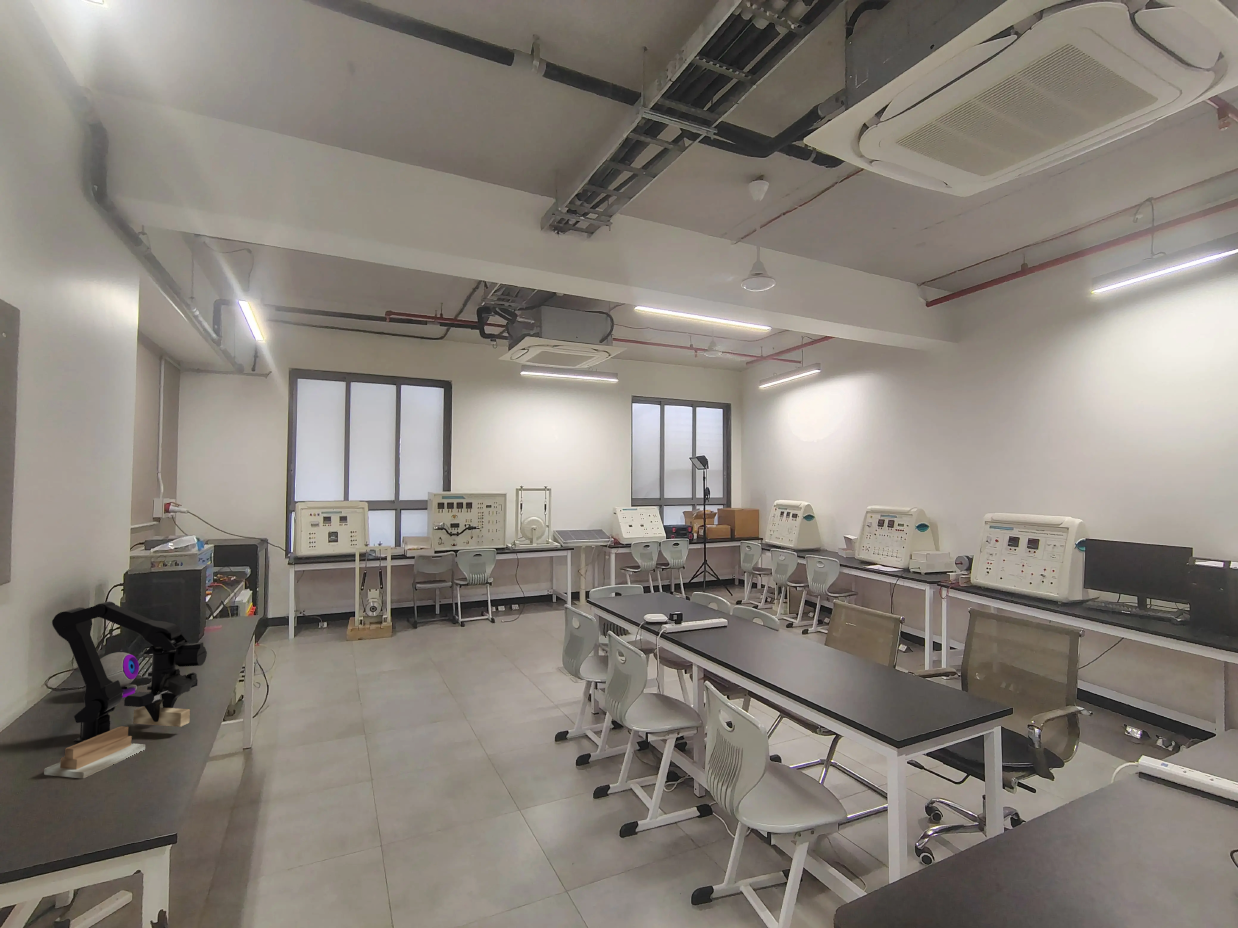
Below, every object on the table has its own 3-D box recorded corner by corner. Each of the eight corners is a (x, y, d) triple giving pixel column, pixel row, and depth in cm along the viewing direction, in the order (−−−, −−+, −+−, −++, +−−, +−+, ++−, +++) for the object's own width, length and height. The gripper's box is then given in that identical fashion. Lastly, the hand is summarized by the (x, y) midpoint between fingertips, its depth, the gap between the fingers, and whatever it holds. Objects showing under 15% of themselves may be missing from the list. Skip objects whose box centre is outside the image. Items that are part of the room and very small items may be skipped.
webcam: (124, 700, 195) (127, 656, 196) (79, 703, 192) (82, 659, 192) (144, 687, 208) (146, 646, 208) (102, 690, 204) (104, 649, 205)
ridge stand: (44, 774, 144) (45, 748, 145) (109, 746, 160) (110, 723, 160) (83, 778, 143) (84, 752, 143) (145, 749, 158) (146, 726, 159)
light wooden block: (133, 723, 169) (133, 709, 169) (142, 719, 172) (143, 706, 172) (180, 726, 167) (181, 712, 167) (189, 722, 170) (190, 709, 170)
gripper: (157, 678, 160) (154, 734, 159) (213, 659, 178) (211, 709, 177) (124, 676, 161) (121, 731, 161) (183, 657, 180) (180, 706, 179)
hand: (161, 719), depth 169 cm, fingers closed on light wooden block, 3 cm apart
